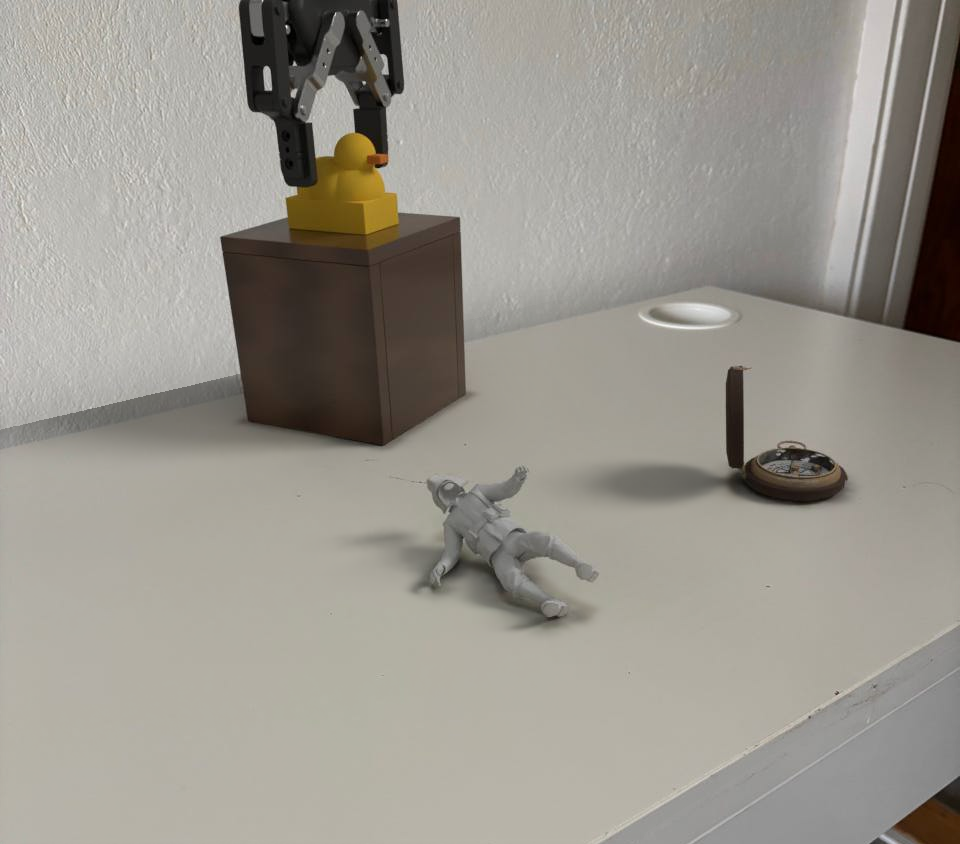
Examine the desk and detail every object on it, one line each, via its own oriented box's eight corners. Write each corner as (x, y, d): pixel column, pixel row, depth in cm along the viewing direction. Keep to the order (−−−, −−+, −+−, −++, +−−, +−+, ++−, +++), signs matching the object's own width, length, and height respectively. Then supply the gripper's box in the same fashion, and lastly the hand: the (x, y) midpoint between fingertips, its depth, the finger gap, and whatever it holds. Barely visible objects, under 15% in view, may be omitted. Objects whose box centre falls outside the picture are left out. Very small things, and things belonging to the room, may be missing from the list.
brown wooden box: (247, 420, 76) (219, 236, 70) (339, 374, 85) (322, 206, 78) (383, 445, 72) (368, 250, 65) (466, 393, 80) (460, 216, 74)
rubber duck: (288, 228, 71) (277, 134, 68) (323, 218, 74) (314, 127, 71) (372, 235, 68) (364, 137, 65) (405, 224, 72) (399, 130, 68)
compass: (850, 507, 61) (872, 387, 57) (715, 499, 63) (727, 382, 59) (839, 456, 68) (857, 346, 64) (716, 450, 69) (727, 342, 66)
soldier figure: (504, 658, 50) (360, 516, 55) (540, 676, 54) (403, 542, 60) (611, 537, 49) (454, 403, 54) (639, 564, 53) (491, 438, 59)
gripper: (330, -108, 68) (351, 160, 77) (182, -124, 57) (227, 189, 66) (427, -116, 65) (439, 164, 74) (291, -134, 54) (323, 196, 63)
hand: (338, 176), depth 70 cm, fingers open, 8 cm apart
